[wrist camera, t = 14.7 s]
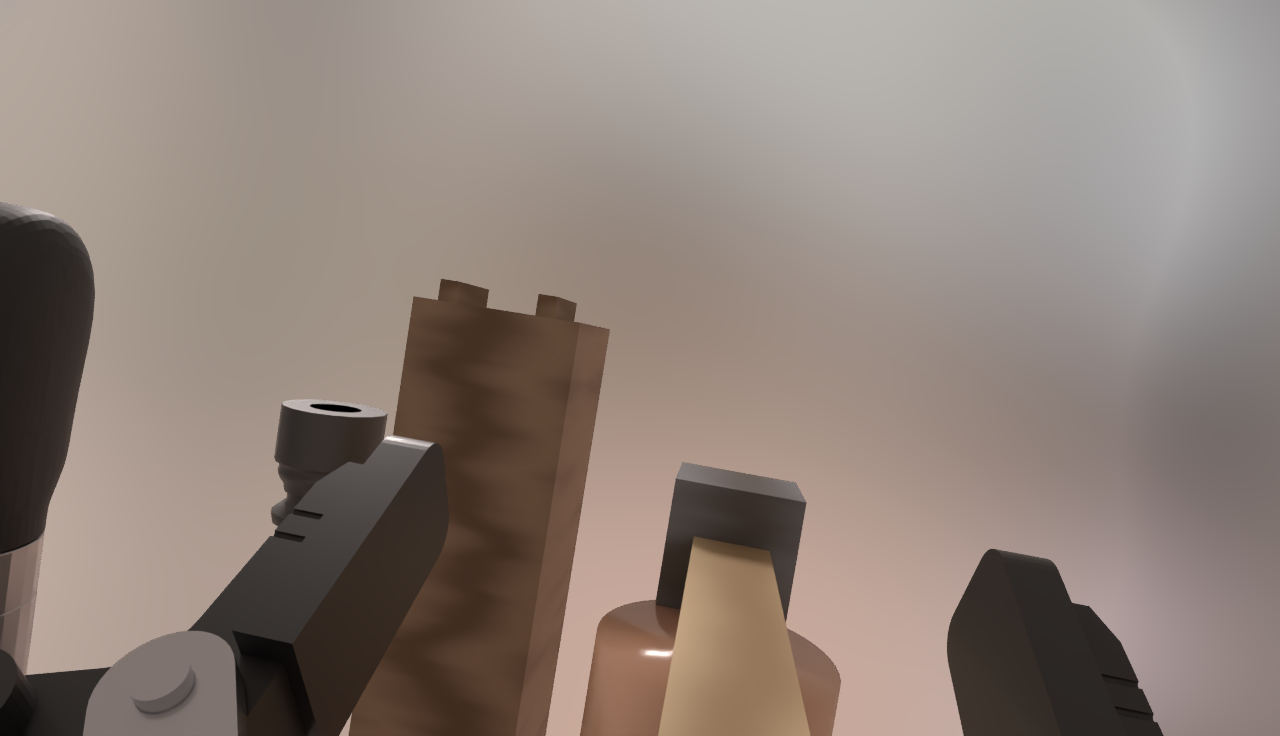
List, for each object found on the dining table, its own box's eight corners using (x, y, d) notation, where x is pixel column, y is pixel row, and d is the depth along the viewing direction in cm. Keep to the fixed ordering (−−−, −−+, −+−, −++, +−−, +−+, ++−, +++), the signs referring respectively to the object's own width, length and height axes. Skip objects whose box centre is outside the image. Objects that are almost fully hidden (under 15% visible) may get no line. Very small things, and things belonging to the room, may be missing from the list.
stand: (284, 965, 33) (386, 269, 32) (387, 824, 43) (467, 289, 42) (487, 1023, 32) (600, 302, 31) (544, 865, 42) (632, 315, 41)
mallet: (561, 931, 11) (608, 642, 11) (664, 571, 30) (682, 462, 30) (864, 1012, 11) (919, 708, 11) (776, 594, 30) (795, 482, 29)
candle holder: (298, 871, 38) (363, 422, 38) (190, 849, 39) (252, 403, 38) (351, 799, 45) (408, 412, 44) (257, 780, 45) (312, 395, 44)
